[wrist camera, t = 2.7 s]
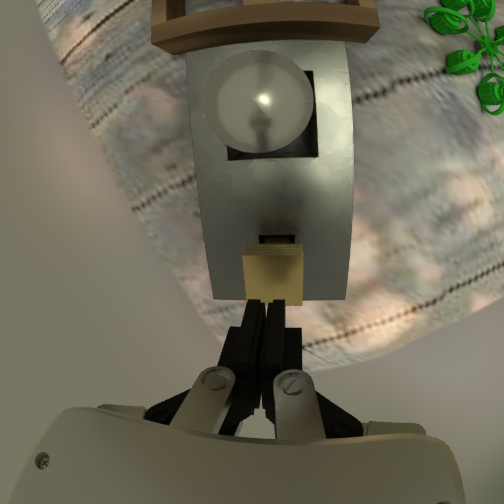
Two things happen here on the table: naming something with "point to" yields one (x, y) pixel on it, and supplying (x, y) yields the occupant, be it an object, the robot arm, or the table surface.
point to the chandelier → (466, 59)
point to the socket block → (279, 177)
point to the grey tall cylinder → (257, 101)
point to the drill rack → (260, 23)
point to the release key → (274, 270)
